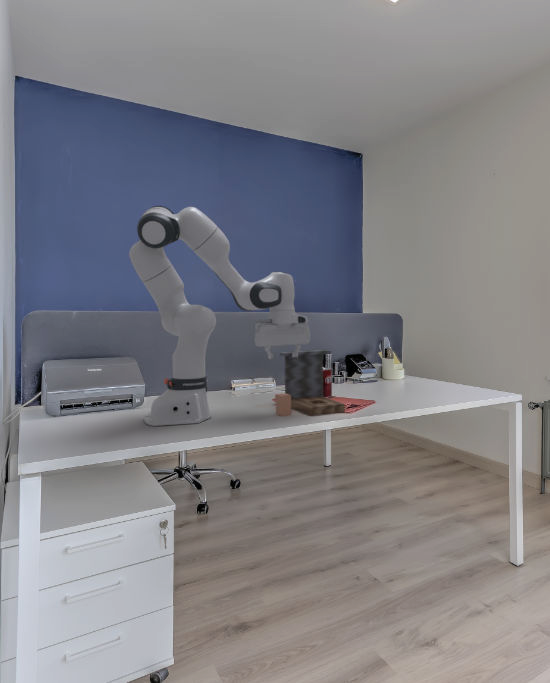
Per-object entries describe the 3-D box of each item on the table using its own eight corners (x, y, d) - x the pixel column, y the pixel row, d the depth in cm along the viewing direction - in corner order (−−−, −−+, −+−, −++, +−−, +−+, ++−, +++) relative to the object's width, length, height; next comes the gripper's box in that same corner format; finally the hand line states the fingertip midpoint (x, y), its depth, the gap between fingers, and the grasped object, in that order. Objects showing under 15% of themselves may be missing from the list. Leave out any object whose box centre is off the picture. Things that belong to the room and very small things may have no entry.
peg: (280, 416, 161) (280, 396, 161) (276, 413, 165) (275, 394, 165) (291, 414, 163) (290, 395, 163) (286, 412, 167) (285, 393, 166)
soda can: (331, 395, 199) (331, 367, 198) (332, 398, 192) (332, 369, 191) (314, 395, 200) (314, 367, 199) (314, 398, 193) (314, 369, 192)
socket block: (302, 417, 159) (302, 356, 158) (280, 407, 176) (279, 352, 175) (351, 411, 168) (351, 353, 166) (326, 402, 184) (325, 349, 183)
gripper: (258, 319, 155) (259, 360, 156) (312, 318, 163) (312, 357, 164) (251, 319, 161) (252, 359, 162) (303, 317, 169) (304, 355, 170)
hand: (283, 358), depth 163 cm, fingers open, 8 cm apart
